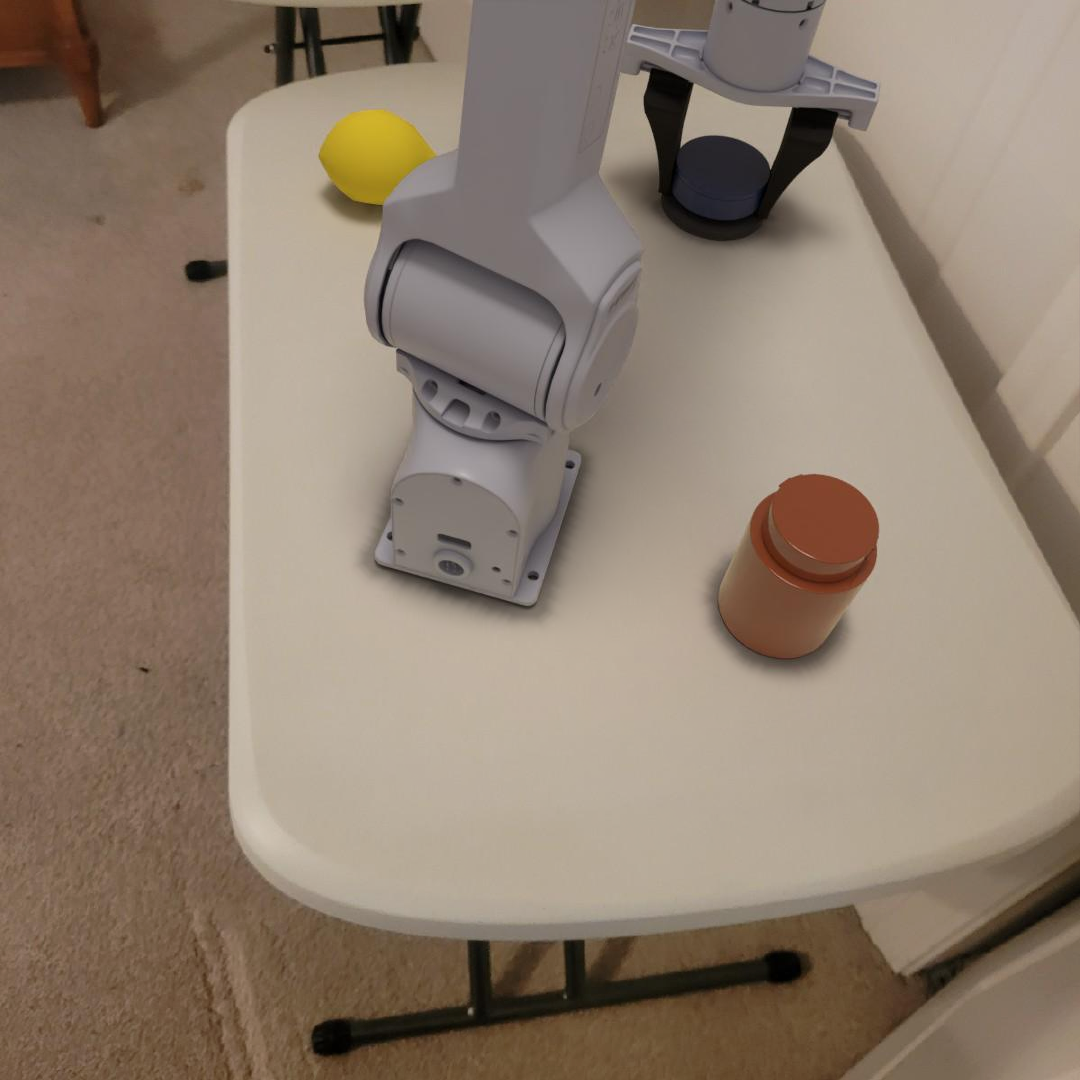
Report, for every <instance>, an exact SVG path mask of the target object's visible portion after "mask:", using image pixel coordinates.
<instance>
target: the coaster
mask: <svg viewBox="0 0 1080 1080" xmlns="http://www.w3.org/2000/svg"><path fill="white" fill-rule="evenodd" d="M660 203H661V207H662V210H663V211H664V213H665V215H666V216H667V217H668V219H669V220H670V221H671V222H672V223H673V224H675V225H676V226H677V227H678V228H680V229H682V230H683V231H685V232H687V233H689V234H691V235H694V236H696V237H700V238H703V239H707V240H713V241H733V240H740V239H743V238H745V237H747V236H750V235H751V234H754V233H755V232H756V231H758V229H759V228H761V226H762V225H763V223H764V221H765V219H761V218H757V217H756V215H757V211H758V209H757V210H756V211H755V212H754V213H752V214H751V215H749V216H747V217H744V218H741V219H736V220H715V219H710V218H706V217H703V216H700V215H698V214H695V213H693V212H692V211H690V210H688V209H687V208H685V207H684V206H683V205H682V204H681V203H680V202H679V201H678V200H677V199H676V197H675V196H674V194H673V192H672V189H670V192H669V195H665V194H661V193H660Z"/></svg>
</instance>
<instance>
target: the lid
mask: <svg viewBox="0 0 1080 1080" xmlns="http://www.w3.org/2000/svg"><path fill="white" fill-rule="evenodd" d="M770 175H771V166H770V163H769V161H768V159H767V157H766V156H765V155H764V154H763V153H762V151H760V150H759V149H758V148H756V147H755V146H753V145H751V144H750V143H748V142H745V141H744V140H741V139H738V138H735V137H732V136H727V135H720V134H719V135H718V134H713V135H712V134H711V135H708V134H707V135H702V136H698V137H694V138H692V139H690V140H688V141H686V142H685V143H684V144H682V145H681V146H680V149H679V151H678V153H677V156H676V161H675V166H674V172H673V178H672V183H671V189H672V192H673V194H674V196H675V197H676V199H677V200H678V201H679V202H680V203H681V204H682V205H683V206H684V207H685V208H687V209H688V210H690V211H692V212H693V213H695V214H698V215H700V216H703V217H706V218H710V219H715V220H736V219H741V218H744V217H747V216H749V215H751V214H752V213H754V212H755V211H756V210H757V209H758V208H759V206H760V203H761V200H762V198H763V195H764V193H765V190H766V187H767V185H768V182H769V179H770Z"/></svg>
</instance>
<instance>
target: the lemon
mask: <svg viewBox="0 0 1080 1080" xmlns="http://www.w3.org/2000/svg"><path fill="white" fill-rule="evenodd" d="M436 156H438V155H437V154H436V153H435V151H434V149H432V147H431V146H430V145H429V144H428V142H427V141H426V140H425V139H424V137H423V136H422V135H421V133H420V132H419V131H418V129H417V128H416V127H415V126H414V124H412V123H411V122H409V121H407V120H406V119H404V118H403V117H401V116H400V115H399V116H398V115H397V114H395V113H392V112H390V111H388V110H386V109H384V108H380V109H366V110H365V109H364V110H360V111H355V112H354V111H353V112H350V113H349V114H347V115H346V116H345V117H343V118H341V119H340V120H339V121H337V122H335V124H334V126H333V127H332V128H331V129H330V131H329V132H328V133H327V134H326V136H325V139H324V140H323V142H322V144H321V147H320V149H319V152H318V158H319V162H320V163H321V166H322V168H324V171H325V173H326V174H327V176H328V178H329V179H330V180H331V182H332V183H333V184H334V185H335V187H336V188H337V189H338V190H339V191H340V192H342V193H343V194H344V195H346V196H347V197H348V198H350V199H351V200H352V201H355V202H358V203H364V204H371V205H378V206H383V203H384V201H385V200H386V199H387V198H388V196H389V195H390V194H391V193H392V191H393V190H394V189H395V188H396V187H397V185H398V184H399V183H400V182H401V180H402V179H403V178H404V177H406V176H407V175H408V174H409V173H410V172H411V171H413V170H414V169H415V168H416V167H418V166H419V165H421V164H423V163H424V162H426V161H428V160H430V159H432V158H434V157H436Z"/></svg>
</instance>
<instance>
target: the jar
mask: <svg viewBox="0 0 1080 1080" xmlns="http://www.w3.org/2000/svg"><path fill="white" fill-rule="evenodd" d="M879 535H880V523H879V517H878V515H877V512H876V510H875V508H874V506H873V504H872V503H871V502H870V500H869V499H868V498H867V497H866V496H865V494H863V493H862V492H861V490H859V489H857V487H855V486H854V485H852V484H850V483H848V482H846V481H845V480H842V479H840V478H837V477H835V476H831V475H827V474H821V473H808V474H802V473H801V474H798V475H795V476H791V477H788V478H787V479H785V480H784V481H782V482H781V483H780V484H778V489H777V490H776V491H773V492H772V493H770V494H769V495H767V496H766V497H765V498H763V499H762V500H761V501H760V502H759V503H758V504H757V506H756V507H755V509H754V510H753V512H752V515H751V517H750V519H749V521H748V524H747V526H746V527H745V529H744V531H743V534H742V537H741V539H740V541H739V543H738V545H737V547H736V550H735V552H734V554H733V556H732V558H731V561H730V563H729V565H728V567H727V569H726V572H725V573H724V576H723V578H722V580H721V583H720V585H719V588H718V592H717V604H718V610H719V614H720V616H721V619H722V621H723V623H724V624H725V625H724V626H726V628H727V629H728V631H729V632H730V633H731V634H732V635H733V637H735V638H736V640H738V641H739V642H740V643H741V644H743V645H744V646H745V647H747V648H748V649H750V650H752V652H753V651H754V652H756V653H757V654H761V655H763V656H766V657H771V658H775V659H794V658H800V657H804V656H807V655H808V654H811V653H813V652H814V651H816V650H817V649H819V648H820V647H821V646H822V645H823V644H824V642H825V641H826V640H827V639H828V637H829V636H830V635H831V633H832V631H834V629H835V627H836V625H837V624H838V623H839V621H840V620H841V618H842V617H843V615H844V614H845V613H846V611H847V610H848V608H849V607H850V605H851V604H852V602H853V601H854V599H855V598H856V596H857V595H858V594H859V592H860V591H861V589H862V588H863V586H864V585H865V583H866V582H867V580H868V579H869V577H870V576H871V575H872V572H873V571H874V569H875V566H876V564H877V558H878V541H879V538H880V536H879Z"/></svg>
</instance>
